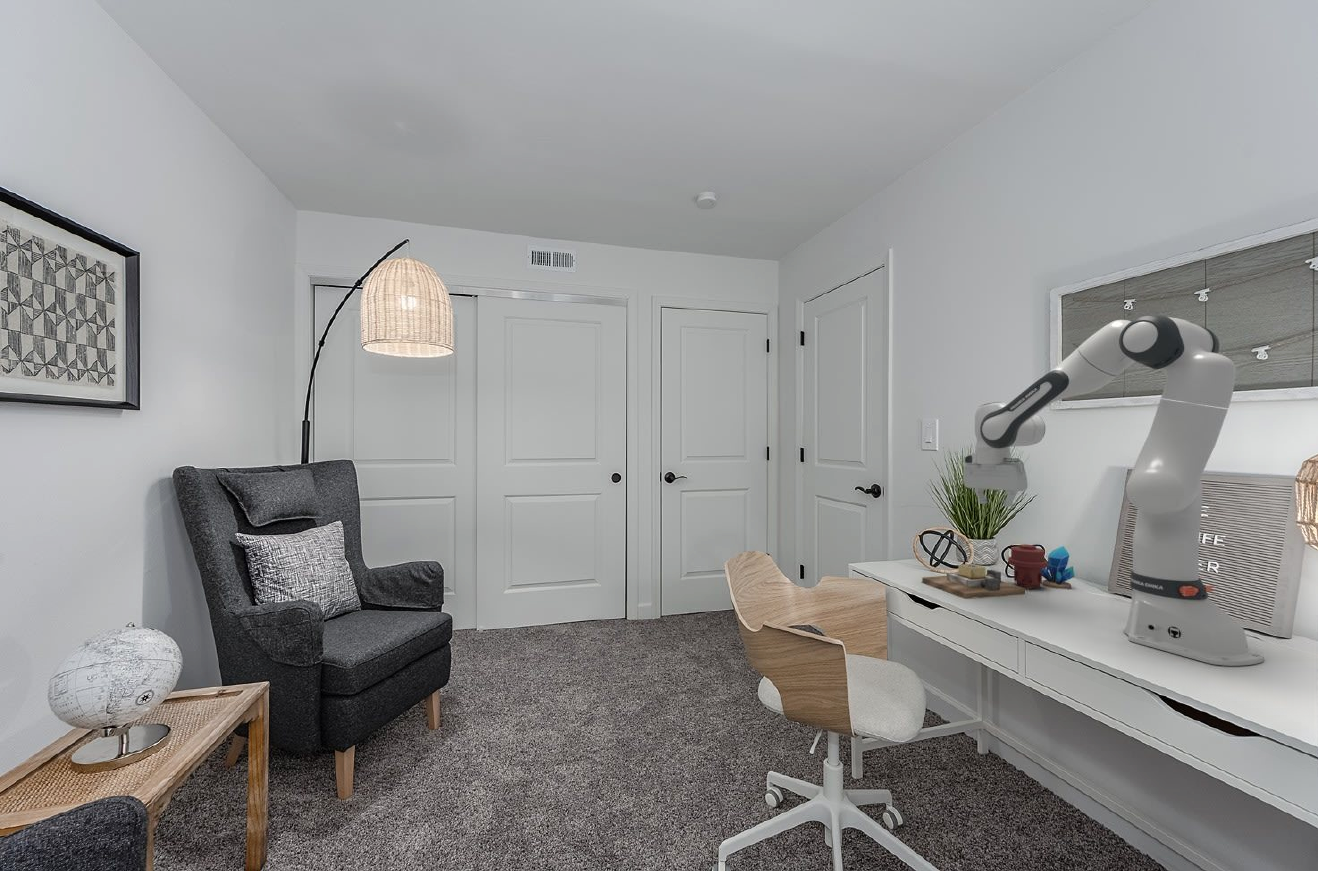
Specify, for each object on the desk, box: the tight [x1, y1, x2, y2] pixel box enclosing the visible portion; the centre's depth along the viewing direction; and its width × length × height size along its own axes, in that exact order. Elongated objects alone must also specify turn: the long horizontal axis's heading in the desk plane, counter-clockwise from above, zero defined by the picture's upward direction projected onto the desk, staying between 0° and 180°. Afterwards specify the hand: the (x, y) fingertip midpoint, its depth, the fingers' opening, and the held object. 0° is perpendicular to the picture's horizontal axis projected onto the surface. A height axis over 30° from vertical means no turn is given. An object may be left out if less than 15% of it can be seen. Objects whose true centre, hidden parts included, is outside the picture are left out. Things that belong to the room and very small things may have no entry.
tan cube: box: [957, 563, 987, 579], centre depth 170 cm, size 5×5×5 cm
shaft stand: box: [921, 569, 1026, 599], centre depth 171 cm, size 18×20×4 cm
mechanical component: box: [1007, 543, 1048, 590], centre depth 171 cm, size 12×10×10 cm
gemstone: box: [1041, 545, 1075, 589], centre depth 172 cm, size 7×9×12 cm
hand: (995, 504), depth 169 cm, fingers open, 8 cm apart
